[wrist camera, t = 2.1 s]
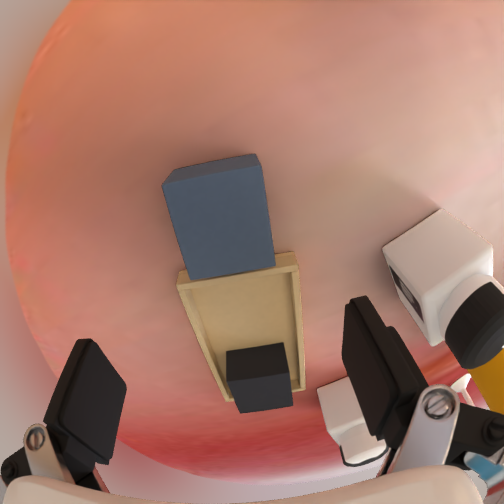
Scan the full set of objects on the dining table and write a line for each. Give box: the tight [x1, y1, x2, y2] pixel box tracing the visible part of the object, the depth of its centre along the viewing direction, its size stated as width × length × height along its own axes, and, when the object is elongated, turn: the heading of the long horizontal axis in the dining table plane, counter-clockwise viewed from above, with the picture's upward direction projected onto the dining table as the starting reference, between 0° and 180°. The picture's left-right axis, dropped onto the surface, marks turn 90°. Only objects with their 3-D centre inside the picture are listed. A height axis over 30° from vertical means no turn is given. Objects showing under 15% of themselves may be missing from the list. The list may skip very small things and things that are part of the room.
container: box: [382, 209, 504, 369], centre depth 19 cm, size 8×8×13 cm
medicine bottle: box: [317, 376, 389, 467], centre depth 30 cm, size 7×7×12 cm
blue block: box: [162, 154, 276, 280], centre depth 19 cm, size 7×6×4 cm
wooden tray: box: [176, 251, 306, 402], centre depth 27 cm, size 18×10×2 cm, turn 9°
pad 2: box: [226, 342, 293, 413], centre depth 28 cm, size 7×6×4 cm
